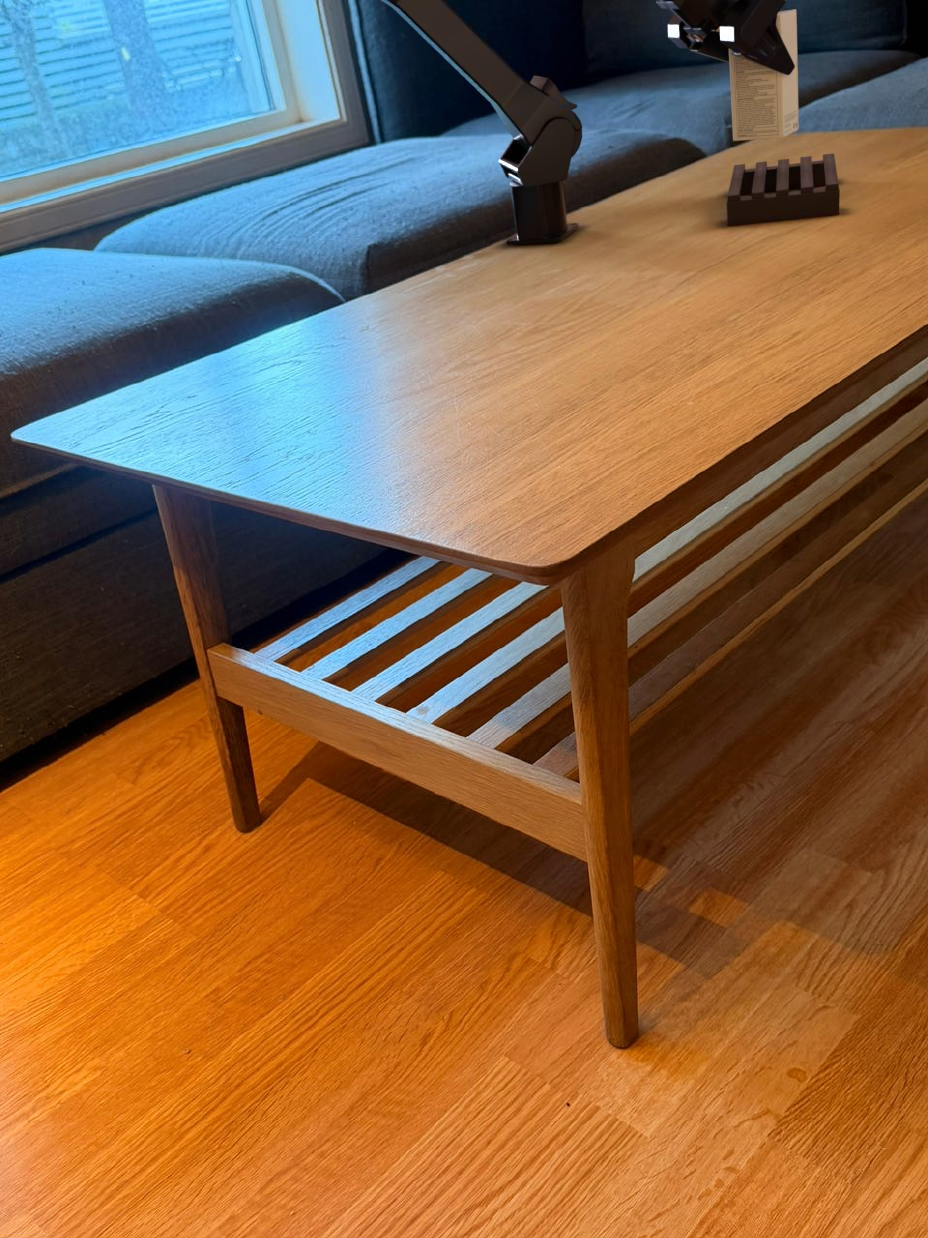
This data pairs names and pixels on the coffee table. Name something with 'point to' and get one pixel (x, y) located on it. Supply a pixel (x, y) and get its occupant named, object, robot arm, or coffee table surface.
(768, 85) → the cosmetic box
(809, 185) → the rack
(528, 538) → the coffee table surface
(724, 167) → the coffee table surface
